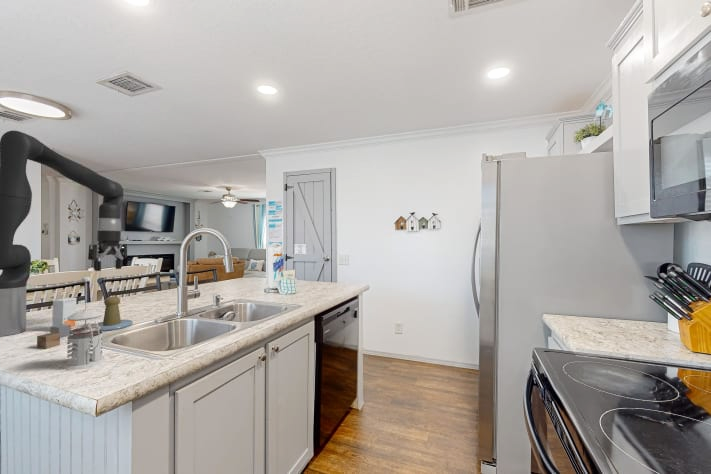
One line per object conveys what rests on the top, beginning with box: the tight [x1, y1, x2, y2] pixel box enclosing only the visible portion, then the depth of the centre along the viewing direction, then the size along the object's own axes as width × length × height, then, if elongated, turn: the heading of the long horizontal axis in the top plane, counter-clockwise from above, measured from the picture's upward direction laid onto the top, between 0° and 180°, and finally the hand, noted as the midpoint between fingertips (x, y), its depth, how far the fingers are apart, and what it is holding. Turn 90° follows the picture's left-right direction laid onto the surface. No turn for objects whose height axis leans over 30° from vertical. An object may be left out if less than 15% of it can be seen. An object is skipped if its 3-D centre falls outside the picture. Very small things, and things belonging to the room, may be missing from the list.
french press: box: [62, 276, 107, 371], centre depth 93 cm, size 10×12×25 cm
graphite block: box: [49, 324, 72, 339], centre depth 117 cm, size 4×4×4 cm
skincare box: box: [51, 297, 78, 330], centre depth 126 cm, size 6×4×12 cm
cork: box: [102, 296, 122, 326], centre depth 131 cm, size 6×6×11 cm
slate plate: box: [88, 319, 133, 332], centre depth 131 cm, size 14×14×1 cm
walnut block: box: [36, 332, 61, 350], centre depth 107 cm, size 4×4×4 cm
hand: (108, 269), depth 130 cm, fingers open, 8 cm apart
